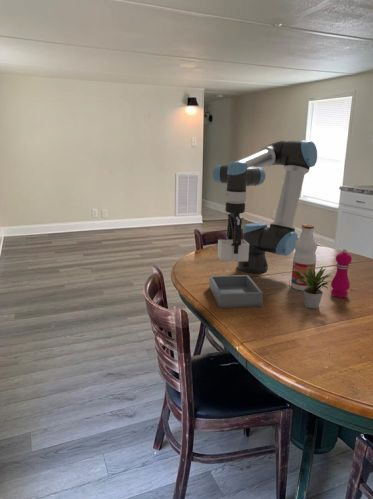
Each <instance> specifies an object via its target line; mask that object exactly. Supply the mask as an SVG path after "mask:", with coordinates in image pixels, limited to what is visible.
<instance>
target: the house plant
mask: <svg viewBox="0 0 373 499" xmlns="http://www.w3.org/2000/svg"><path fill="white" fill-rule="evenodd" d="M323 267H324V266H322V267H321V268H320V269H319V270H318V272H317V273H316V268H315V269H314V266H313V273H312V271H311V269H310V267H309V266H308V275H307V273H305V272H304V271H302V270H301V269H300V270H301V271H302V272H303V273H304V275H305V277H306V278H307V280H306V281H307V283H308V284H307V283H306V282H305V281H304V280H302V279H299V280H298V281H301V282H304V283H305V284H306V285H307V287H306V288H305V289H304V291H303V297H304V298H303V301H304V306H305V307H306V308H307V307H308V309H311V308H316V309H318V308H319V306H320V303H321V300H322V297H323V293H324V292H323V291H322V290H321V289H323V288H326V289H327V290H329V287H328V286H327V285H330V286H331V282H332V280H329V281H328V280H327V281H326V278H331V277H334V275H336V272H334V273H333V272H332V273H327V274H326V275H324V272H325V271H326V268H324V269H323ZM323 275H324V276H323Z"/></svg>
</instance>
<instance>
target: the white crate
mask: <svg viewBox="0 0 373 499" xmlns="http://www.w3.org/2000/svg"><path fill="white" fill-rule="evenodd" d="M231 244H233V239H232V240H228V239H217V258H218V259H219V261H220V262H223V263H224V262H232V261H231V256H232V246H231ZM248 257H249V243H247V242H246V241H245V240H242V239H241V245H240V246H239V259H238V261H248ZM238 261H237V262H238Z"/></svg>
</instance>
